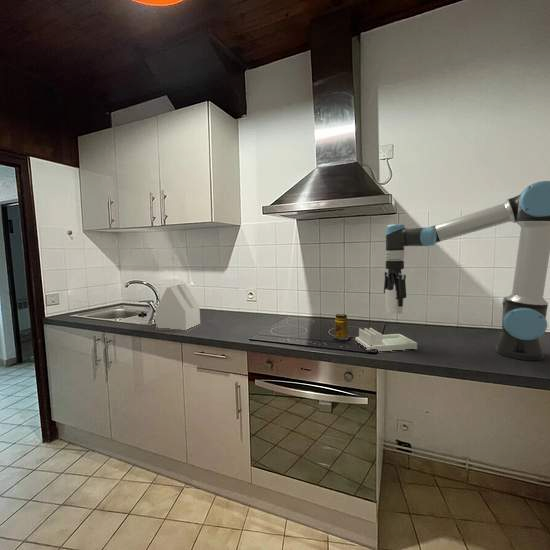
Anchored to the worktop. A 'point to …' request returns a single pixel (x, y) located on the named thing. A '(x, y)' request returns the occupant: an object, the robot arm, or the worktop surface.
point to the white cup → (391, 300)
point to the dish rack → (384, 341)
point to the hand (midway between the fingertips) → (394, 311)
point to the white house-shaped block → (177, 309)
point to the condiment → (341, 326)
